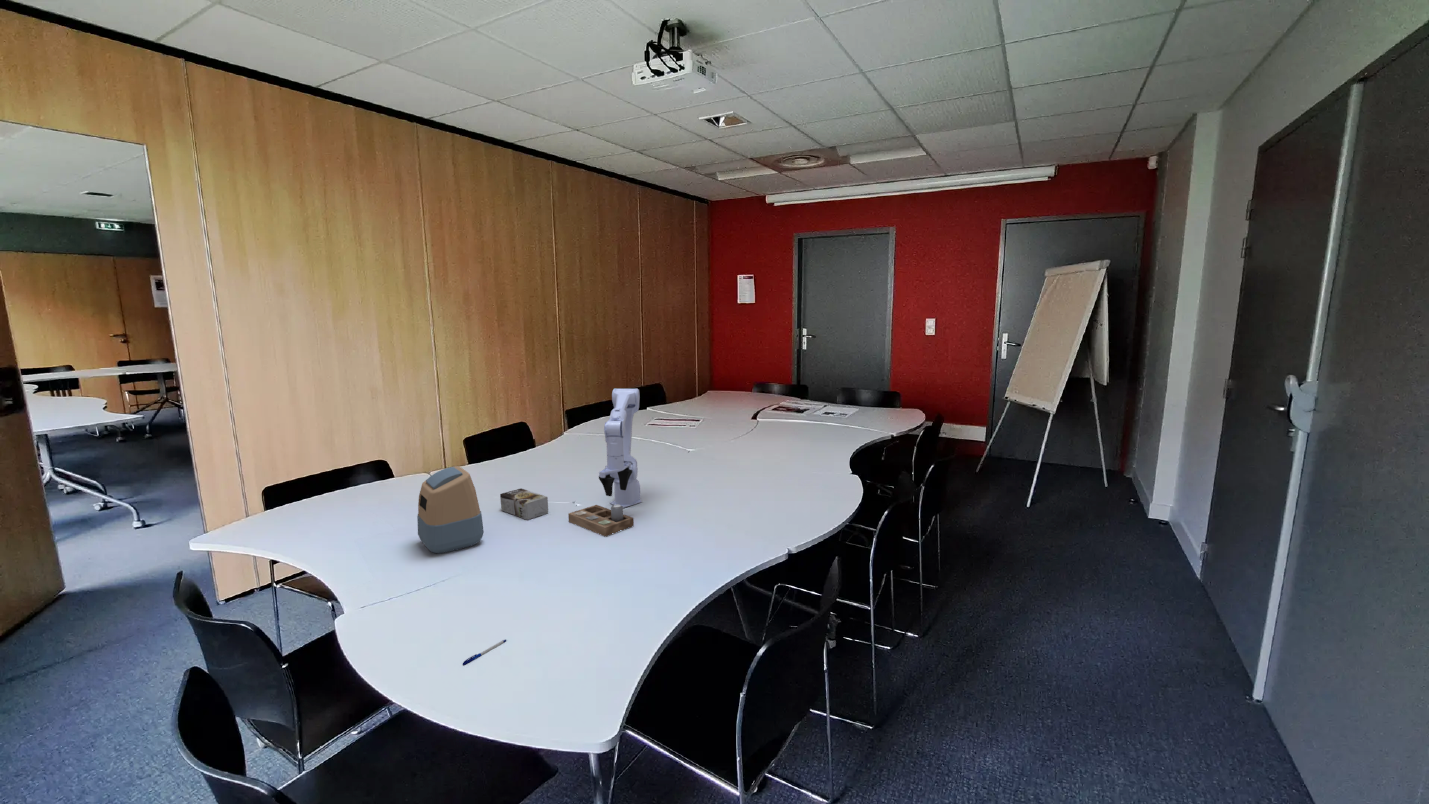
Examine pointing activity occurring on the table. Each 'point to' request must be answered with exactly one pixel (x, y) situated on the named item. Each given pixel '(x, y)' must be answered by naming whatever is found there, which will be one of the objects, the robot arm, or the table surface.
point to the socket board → (599, 520)
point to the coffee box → (524, 503)
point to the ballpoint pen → (482, 653)
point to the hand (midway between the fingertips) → (616, 492)
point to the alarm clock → (449, 511)
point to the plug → (616, 513)
